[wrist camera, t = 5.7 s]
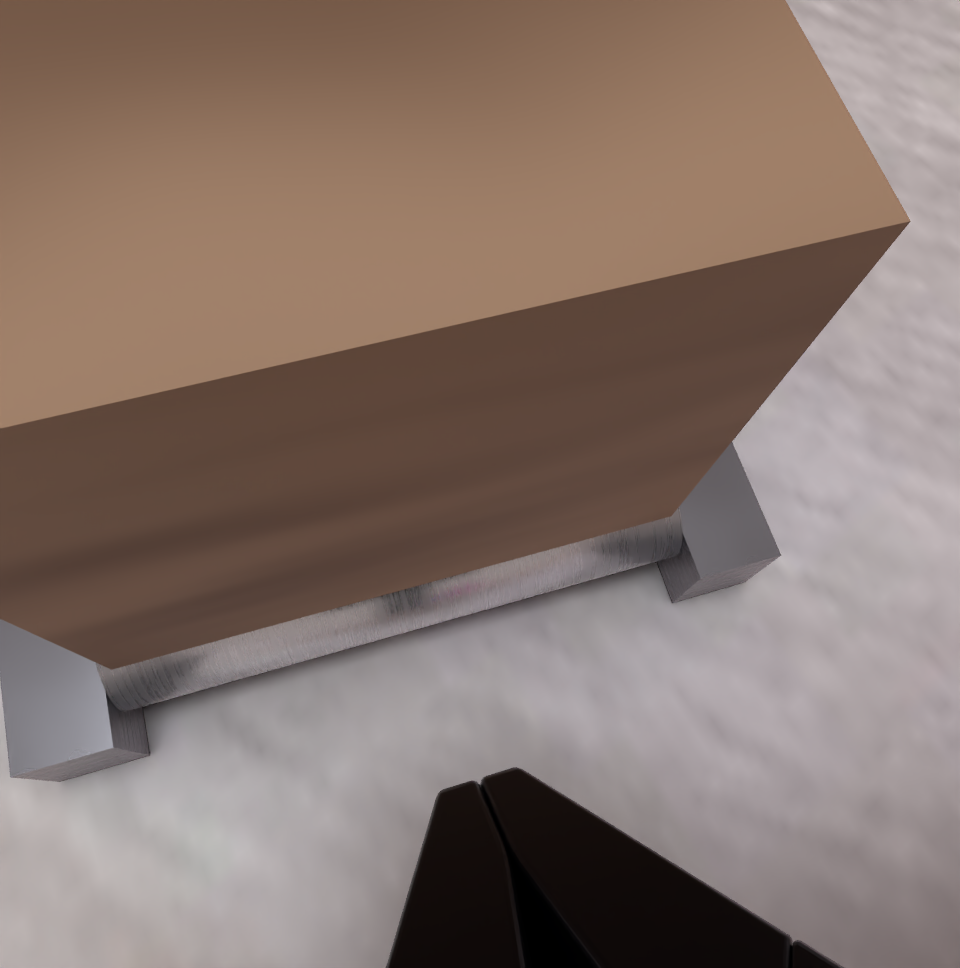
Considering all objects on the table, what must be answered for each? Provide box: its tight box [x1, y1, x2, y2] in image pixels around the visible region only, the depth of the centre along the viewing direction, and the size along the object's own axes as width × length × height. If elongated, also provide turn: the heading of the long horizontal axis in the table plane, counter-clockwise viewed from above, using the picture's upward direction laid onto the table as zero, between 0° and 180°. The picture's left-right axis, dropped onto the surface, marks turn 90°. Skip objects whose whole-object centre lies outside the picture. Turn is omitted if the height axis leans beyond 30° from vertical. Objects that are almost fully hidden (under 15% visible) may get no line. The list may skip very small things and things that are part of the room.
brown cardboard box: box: [0, 0, 910, 670], centre depth 11 cm, size 8×9×8 cm
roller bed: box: [0, 442, 781, 782], centre depth 16 cm, size 18×13×6 cm
